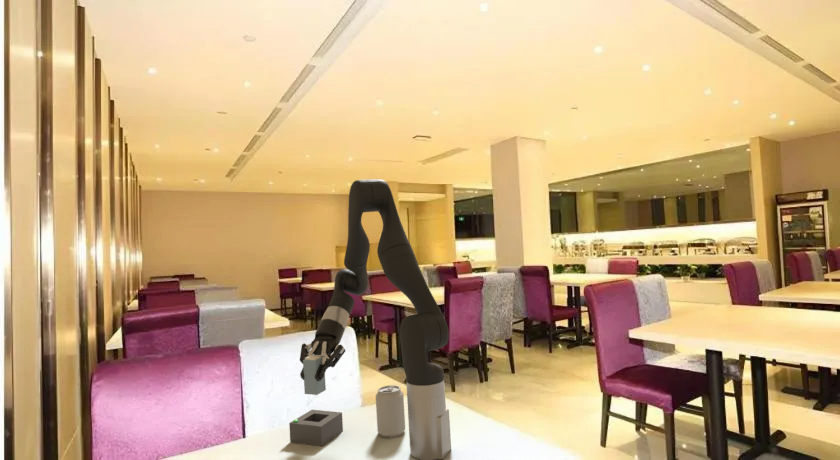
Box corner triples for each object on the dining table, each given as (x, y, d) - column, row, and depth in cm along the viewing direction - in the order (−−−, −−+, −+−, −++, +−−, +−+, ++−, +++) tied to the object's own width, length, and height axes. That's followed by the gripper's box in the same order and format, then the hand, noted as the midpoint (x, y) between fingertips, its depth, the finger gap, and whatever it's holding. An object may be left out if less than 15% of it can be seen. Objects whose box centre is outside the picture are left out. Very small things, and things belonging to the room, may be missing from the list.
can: (372, 436, 121) (369, 390, 121) (387, 425, 127) (384, 382, 128) (396, 440, 117) (393, 393, 118) (410, 429, 124) (407, 385, 124)
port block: (342, 430, 126) (341, 411, 126) (322, 446, 117) (321, 424, 117) (312, 427, 130) (311, 408, 130) (290, 442, 120) (289, 421, 120)
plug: (325, 390, 125) (323, 354, 125) (317, 394, 121) (315, 358, 121) (313, 389, 126) (311, 354, 127) (304, 393, 123) (302, 358, 123)
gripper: (306, 317, 134) (281, 370, 122) (348, 317, 128) (326, 373, 117) (318, 332, 139) (295, 384, 127) (359, 333, 133) (338, 387, 122)
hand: (310, 378), depth 122 cm, fingers closed on plug, 4 cm apart
